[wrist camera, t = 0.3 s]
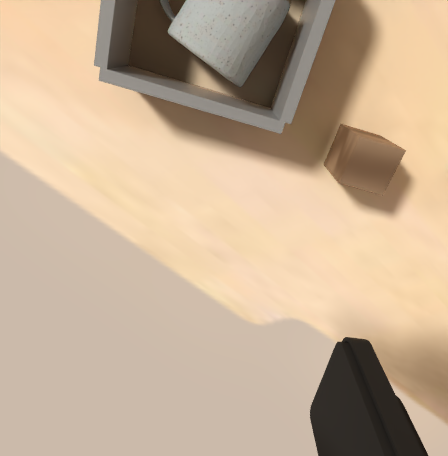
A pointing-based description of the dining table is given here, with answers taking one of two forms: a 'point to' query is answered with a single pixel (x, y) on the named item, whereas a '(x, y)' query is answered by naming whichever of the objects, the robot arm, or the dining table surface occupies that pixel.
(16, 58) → the dining table surface
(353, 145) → the walnut block
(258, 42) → the ceramic mug
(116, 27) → the coaster tray
